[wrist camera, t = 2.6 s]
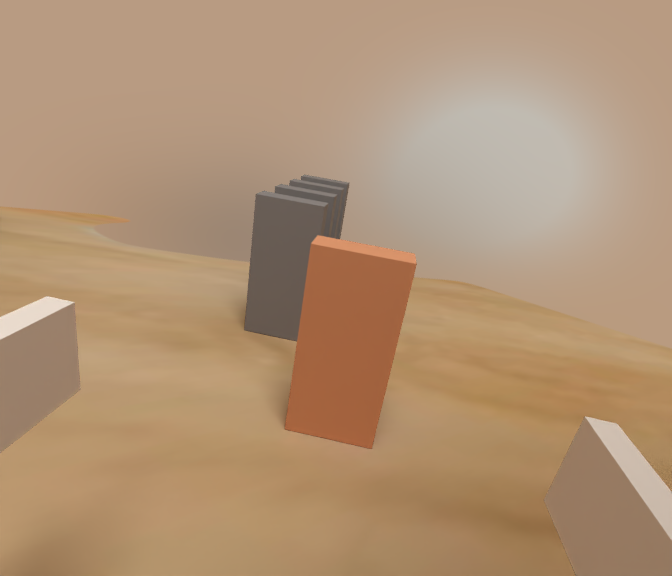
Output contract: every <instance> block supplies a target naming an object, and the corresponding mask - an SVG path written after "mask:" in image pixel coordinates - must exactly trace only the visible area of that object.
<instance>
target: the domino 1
mask: <svg viewBox="0 0 672 576" xmlns="http://www.w3.org/2000/svg"><path fill="white" fill-rule="evenodd" d="M327 210H328V203H326V202H320V201H315V200H310V199H304V198H299V197H293V196H288V195H283V194H277V193H272V192H266V191H262V192H260V193H257V194H256V200H255V212H254V223H253V235H252V247H251V259H250V270H249V282H248V294H247V306H246V317H245V329H244V330H246V331H251V332H256V333H260V334H265V335H270V336H275V337H279V338H284V339H289V340H294V341H297V339H298V332H299V325H300V318H301V311H302V304H303V297H304V289H305V282H306V275H307V268H308V261H309V254H310V247H311V243H312V242H313V240H314V239H315V238H316V237H317V235H319V236H324V229H325V223H326V216H327Z"/></svg>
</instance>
